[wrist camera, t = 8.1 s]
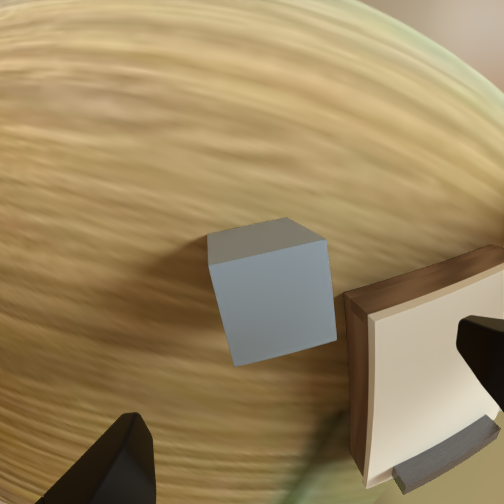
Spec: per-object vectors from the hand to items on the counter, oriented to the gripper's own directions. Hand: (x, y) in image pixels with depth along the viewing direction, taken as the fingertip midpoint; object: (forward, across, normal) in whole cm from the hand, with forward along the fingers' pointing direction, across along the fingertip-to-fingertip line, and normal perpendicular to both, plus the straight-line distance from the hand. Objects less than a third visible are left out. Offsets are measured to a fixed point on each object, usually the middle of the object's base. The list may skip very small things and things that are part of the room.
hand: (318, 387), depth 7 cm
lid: (+7, -12, +11) cm, 18 cm away
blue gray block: (+11, 0, 0) cm, 11 cm away
